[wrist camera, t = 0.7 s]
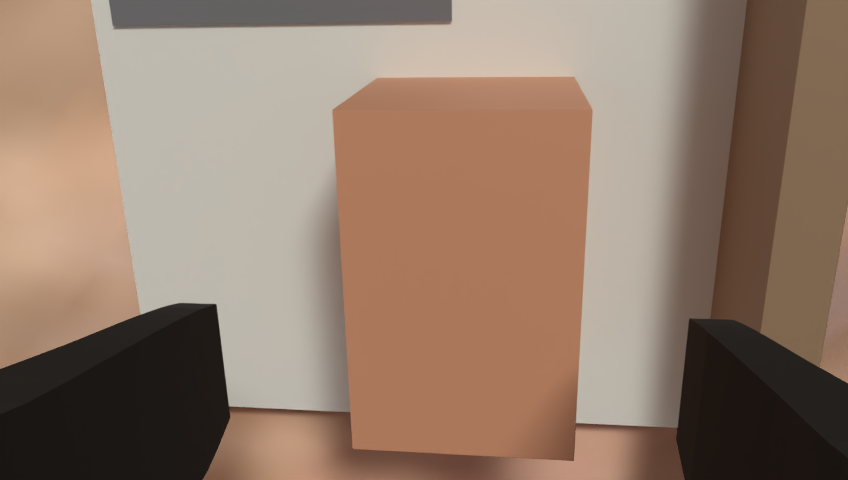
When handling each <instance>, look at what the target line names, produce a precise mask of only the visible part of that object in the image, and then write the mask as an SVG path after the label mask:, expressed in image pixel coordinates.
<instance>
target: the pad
mask: <svg viewBox="0 0 848 480" xmlns="http://www.w3.org/2000/svg"><path fill="white" fill-rule="evenodd" d="M109 4H110V11H111V18H112V24H113V26H135V25H204V24H273V23H341V22H410V21H452V0H109Z"/></svg>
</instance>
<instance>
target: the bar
mask: <svg viewBox="0 0 848 480" xmlns="http://www.w3.org/2000/svg"><path fill="white" fill-rule="evenodd" d="M592 114H593V109H592V108H591V106H590V104H589V102H588V100H587V99H586V97H585V95H584V93H583V91H582V90H581V88H580V86H579V84H578V83H577V81H576V79H575V77H419V78H376V79H375V80H373V81H372V82H371V83H369V84H368V85H366V86H365V87H364V88H362V89H361V90H359V91H358V92H357V93H355V94H354V95H352V96H351V97H350V98H348V99H347V100H345V101H344V102H343V103H341V104H340V105H338V106H337V107H336V108H334V109H333V110H332V115H333V131H334V148H335V164H336V181H337V198H338V214H339V231H340V248H341V264H342V281H343V298H344V314H345V331H346V347H347V364H348V381H349V397H350V414H351V431H352V447H353V449H363V450H382V451H401V452H419V453H438V454H456V455H475V456H493V457H512V458H531V459H549V460H568V461H574V449H575V430H576V412H577V393H578V374H579V356H580V337H581V319H582V300H583V281H584V263H585V244H586V225H587V207H588V188H589V170H590V151H591V132H592Z"/></svg>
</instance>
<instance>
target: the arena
mask: <svg viewBox="0 0 848 480" xmlns="http://www.w3.org/2000/svg"><path fill="white" fill-rule="evenodd" d="M91 4H92V10H93V17H94V23H95V29H96V36H97V42H98V48H99V55H100V61H101V67H102V74H103V80H104V86H105V92H106V99H107V105H108V111H109V118H110V124H111V130H112V137H113V143H114V149H115V156H116V162H117V168H118V175H119V181H120V187H121V194H122V200H123V206H124V213H125V219H126V225H127V232H128V238H129V244H130V251H131V257H132V263H133V270H134V276H135V282H136V289H137V295H138V301H139V308H140V314H144V313H147V312H149V311H152V310H155V309H158V308H161V307H165V306H168V305H173V304H177V303H198V304H217V312H218V321H219V329H220V337H221V345H222V354H223V362H224V370H225V378H226V387H227V395H228V403H229V406H232V407H253V408H274V409H295V410H315V411H336V412H350V397H349V381H348V364H347V347H346V331H345V314H344V298H343V281H342V264H341V248H340V231H339V214H338V198H337V181H336V164H335V148H334V131H333V115H332V110H333V109H334V108H336V107H337V106H338V105H340V104H341V103H343V102H344V101H345V100H347V99H348V98H350V97H351V96H352V95H354V94H355V93H357V92H358V91H359V90H361V89H362V88H364V87H365V86H366V85H368V84H369V83H371V82H372V81H373V80H375V79H376V78H419V77H575V79H576V81H577V83H578V84H579V86H580V88H581V90H582V91H583V93H584V95H585V97H586V99H587V100H588V102H589V104H590V106H591V108H592V109H593V114H592V132H591V151H590V170H589V188H588V207H587V225H586V244H585V263H584V281H583V300H582V319H581V337H580V356H579V374H578V393H577V412H576V423H587V424H608V425H628V426H649V427H670V428H678V419H679V409H680V400H681V391H682V381H683V372H684V362H685V353H686V343H687V334H688V324H689V318H693V319H726V320H735V321H737V322H740V323H742V324H744V325H746V326H748V327H750V328H752V329H754V330H756V331H758V332H759V333H761V334H763V335H765V336H766V337H768V338H770V339H772V340H773V341H775V342H777V343H778V344H780V345H782V346H783V347H785V348H787V349H789V350H790V351H792V352H794V353H795V354H797V355H799V356H800V357H802V358H804V359H806V360H807V361H809V362H811V363H812V364H814V365H816V366H818V367H819V368H820V362H821V356H822V350H823V345H824V339H825V333H826V327H827V321H828V315H829V310H830V304H831V298H832V292H833V286H834V281H835V275H836V269H837V263H838V257H839V252H840V246H841V240H842V234H843V228H844V223H845V217H846V211H847V205H848V0H452V21H410V22H341V23H273V24H204V25H135V26H113V24H112V18H111V11H110V4H109V0H91Z"/></svg>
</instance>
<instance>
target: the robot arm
mask: <svg viewBox="0 0 848 480" xmlns="http://www.w3.org/2000/svg"><path fill="white" fill-rule="evenodd" d="M229 419H230V411H229V403H228V395H227V387H226V378H225V370H224V362H223V354H222V345H221V337H220V329H219V321H218V312H217V304H198V303H177V304H173V305H168V306H165V307H161V308H158V309H155V310H152V311H149V312H147V313H144V314H141V315H139V316H136V317H133V318H131V319H128V320H126V321H123V322H121V323H118V324H116V325H113V326H111V327H108V328H106V329H103V330H101V331H99V332H96V333H94V334H91V335H89V336H86V337H84V338H81V339H79V340H76V341H74V342H71V343H69V344H66V345H64V346H61V347H58V348H56V349H53V350H50V351H48V352H45V353H42V354H40V355H37V356H34V357H32V358H29V359H26V360H24V361H21V362H18V363H16V364H13V365H10V366H8V367H5V368H2V369H0V480H202V479H203V478H204V476H205V474H206V472H207V471H208V469H209V467H210V464H211V462H212V460H213V458H214V455H215V453H216V451H217V449H218V446H219V444H220V442H221V439H222V436H223V434H224V431H225V429H226V426H227V424H228V421H229ZM676 439H677V444H678V449H679V454H680V459H681V464H682V469H683V473H684V478H685V480H848V383H846V382H844V381H842V380H841V379H839V378H837V377H835V376H833V375H832V374H830V373H828V372H826V371H825V370H823V369H821V368H819V367H818V366H816V365H814V364H812V363H811V362H809V361H807V360H806V359H804V358H802V357H800V356H799V355H797V354H795V353H794V352H792V351H790V350H789V349H787V348H785V347H783V346H782V345H780V344H778V343H777V342H775V341H773V340H772V339H770V338H768V337H766V336H765V335H763V334H761V333H759V332H758V331H756V330H754V329H752V328H750V327H748V326H746V325H744V324H742V323H740V322H737V321H735V320H726V319H693V318H689V324H688V334H687V343H686V353H685V362H684V372H683V381H682V391H681V400H680V409H679V419H678V428H677V438H676Z"/></svg>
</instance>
